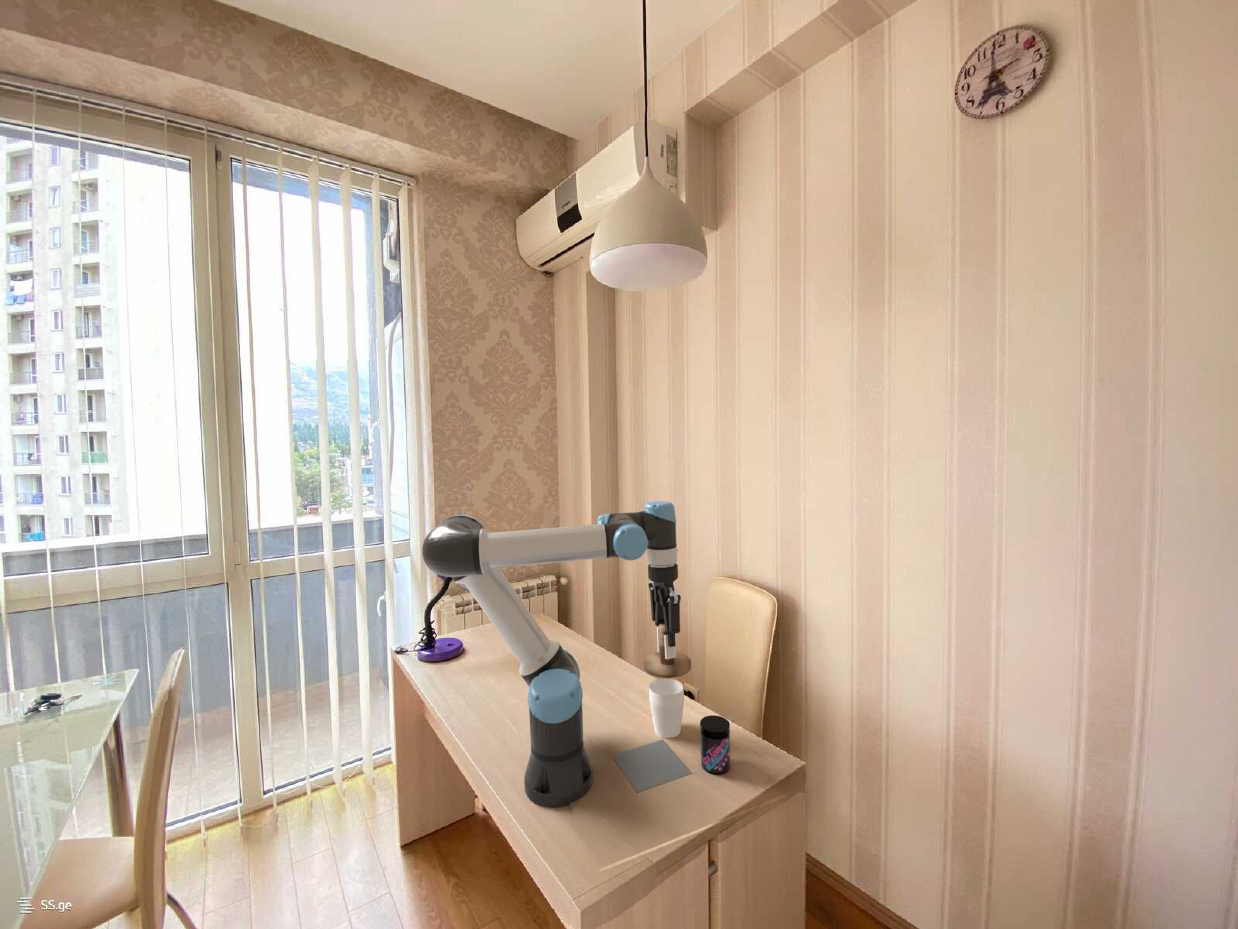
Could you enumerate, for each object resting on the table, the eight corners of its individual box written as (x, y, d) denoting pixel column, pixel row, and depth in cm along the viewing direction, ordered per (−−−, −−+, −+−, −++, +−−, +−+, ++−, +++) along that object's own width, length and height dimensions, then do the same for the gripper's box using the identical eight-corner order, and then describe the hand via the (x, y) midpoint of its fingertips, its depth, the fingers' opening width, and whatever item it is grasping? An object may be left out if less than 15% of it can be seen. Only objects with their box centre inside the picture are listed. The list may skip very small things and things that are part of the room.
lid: (656, 682, 121) (654, 639, 120) (636, 661, 132) (634, 622, 131) (700, 671, 125) (698, 629, 124) (677, 652, 136) (675, 614, 136)
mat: (636, 794, 109) (636, 792, 109) (611, 757, 121) (611, 755, 121) (692, 775, 114) (692, 773, 114) (662, 741, 127) (662, 739, 127)
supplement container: (695, 770, 116) (694, 726, 115) (708, 754, 121) (707, 712, 121) (723, 781, 112) (722, 735, 111) (735, 764, 117) (734, 720, 117)
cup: (683, 743, 126) (682, 697, 125) (647, 740, 127) (646, 694, 127) (686, 723, 134) (685, 679, 134) (652, 720, 136) (651, 677, 135)
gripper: (692, 569, 120) (696, 664, 122) (661, 554, 136) (665, 639, 137) (664, 574, 118) (668, 671, 119) (635, 558, 133) (639, 645, 135)
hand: (666, 654), depth 128 cm, fingers closed on lid, 4 cm apart
